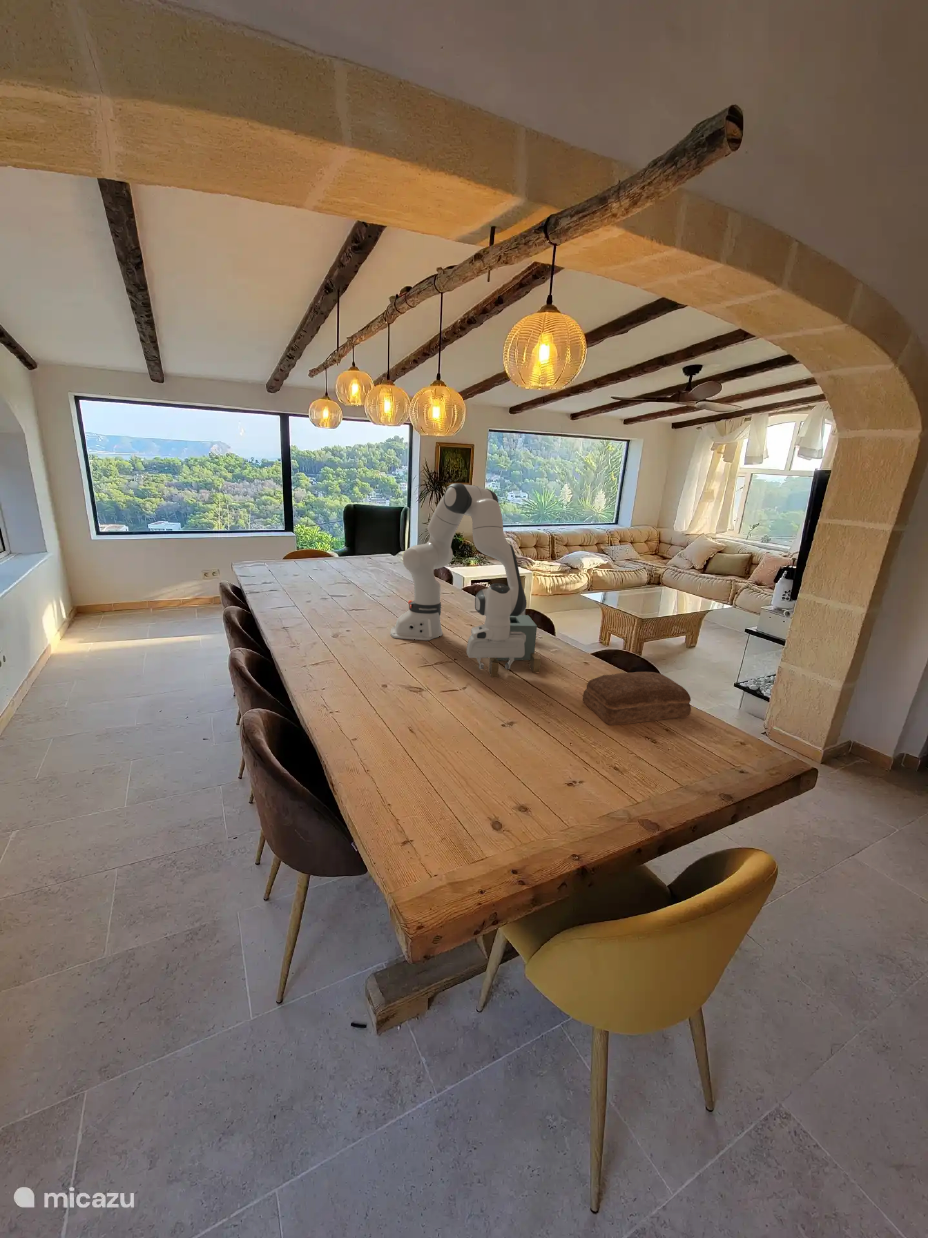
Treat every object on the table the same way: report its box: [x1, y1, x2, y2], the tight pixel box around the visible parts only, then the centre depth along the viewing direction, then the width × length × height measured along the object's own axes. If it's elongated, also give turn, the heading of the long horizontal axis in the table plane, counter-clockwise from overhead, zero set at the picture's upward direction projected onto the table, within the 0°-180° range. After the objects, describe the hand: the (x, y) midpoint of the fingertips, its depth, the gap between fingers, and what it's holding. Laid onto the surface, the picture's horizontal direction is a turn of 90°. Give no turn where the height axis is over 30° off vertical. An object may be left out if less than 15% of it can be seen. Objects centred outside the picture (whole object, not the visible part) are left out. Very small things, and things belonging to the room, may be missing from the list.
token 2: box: [529, 652, 542, 673], centre depth 178 cm, size 2×6×6 cm, turn 6°
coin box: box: [497, 614, 538, 661], centre depth 192 cm, size 16×14×14 cm
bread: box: [582, 671, 692, 726], centre depth 151 cm, size 17×29×11 cm, turn 105°
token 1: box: [488, 658, 500, 678], centre depth 173 cm, size 2×6×6 cm, turn 6°
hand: (494, 668), depth 173 cm, fingers open, 8 cm apart
